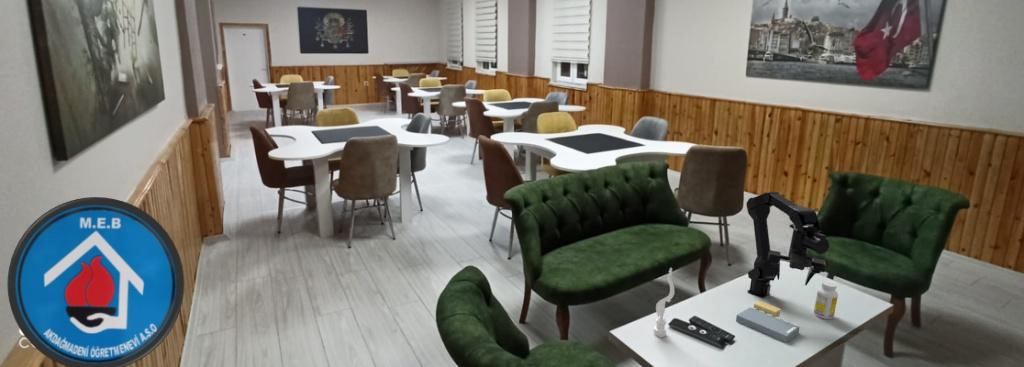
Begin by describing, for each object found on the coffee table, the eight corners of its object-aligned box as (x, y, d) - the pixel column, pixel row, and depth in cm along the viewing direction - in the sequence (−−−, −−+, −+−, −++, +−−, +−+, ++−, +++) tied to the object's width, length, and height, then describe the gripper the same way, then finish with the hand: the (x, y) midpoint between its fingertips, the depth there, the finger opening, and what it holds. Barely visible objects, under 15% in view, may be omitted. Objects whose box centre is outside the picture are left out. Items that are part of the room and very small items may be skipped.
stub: (752, 313, 208) (754, 303, 207) (757, 310, 210) (759, 300, 209) (773, 322, 202) (775, 312, 201) (778, 318, 205) (780, 309, 204)
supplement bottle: (831, 313, 210) (838, 281, 207) (835, 321, 204) (841, 289, 201) (811, 309, 213) (817, 278, 209) (814, 317, 206) (821, 286, 203)
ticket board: (735, 320, 202) (736, 314, 201) (749, 312, 208) (750, 306, 208) (785, 342, 189) (786, 335, 188) (798, 333, 195) (799, 326, 195)
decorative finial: (650, 332, 192) (657, 265, 186) (657, 328, 195) (665, 262, 188) (664, 339, 188) (672, 271, 181) (671, 336, 190) (680, 268, 184)
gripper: (771, 245, 198) (764, 285, 203) (830, 256, 191) (821, 297, 196) (771, 235, 208) (764, 273, 213) (828, 245, 201) (819, 284, 205)
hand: (791, 282), depth 206 cm, fingers open, 9 cm apart
